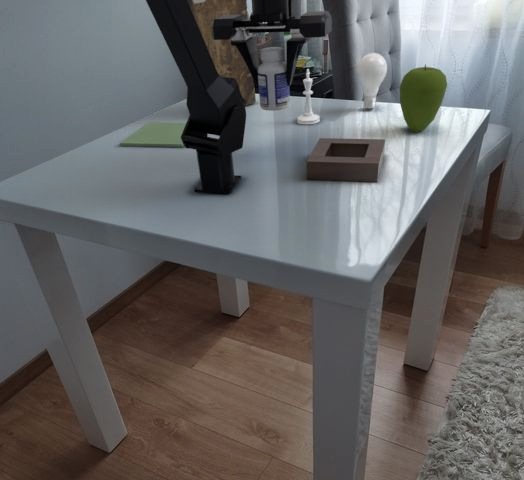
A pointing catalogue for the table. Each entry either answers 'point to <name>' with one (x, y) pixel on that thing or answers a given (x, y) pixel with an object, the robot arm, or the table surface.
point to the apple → (422, 96)
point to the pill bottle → (273, 80)
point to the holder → (346, 159)
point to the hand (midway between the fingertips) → (273, 85)
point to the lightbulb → (371, 77)
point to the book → (224, 42)
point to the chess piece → (308, 104)
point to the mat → (157, 135)
